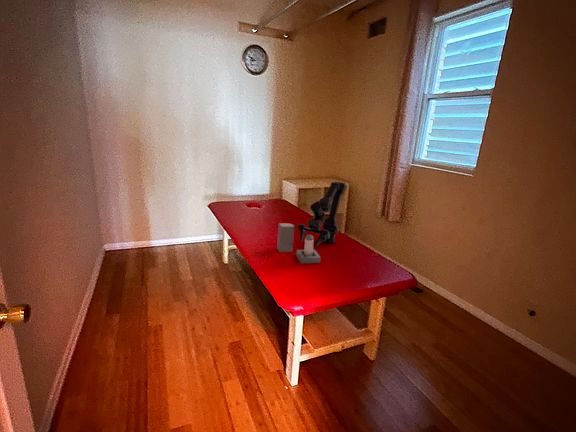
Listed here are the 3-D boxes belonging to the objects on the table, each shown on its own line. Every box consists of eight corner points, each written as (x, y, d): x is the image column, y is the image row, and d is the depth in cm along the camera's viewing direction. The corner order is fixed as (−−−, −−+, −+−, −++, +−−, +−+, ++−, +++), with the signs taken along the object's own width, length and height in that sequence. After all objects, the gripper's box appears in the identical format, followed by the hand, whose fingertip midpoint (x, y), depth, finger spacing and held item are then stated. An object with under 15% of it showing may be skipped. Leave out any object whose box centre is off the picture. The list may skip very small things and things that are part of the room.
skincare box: (279, 252, 183) (280, 227, 179) (276, 247, 190) (277, 222, 185) (293, 251, 186) (295, 226, 181) (290, 247, 192) (291, 222, 188)
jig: (296, 255, 182) (296, 249, 181) (314, 254, 184) (314, 249, 183) (300, 263, 171) (301, 258, 170) (320, 262, 174) (320, 257, 173)
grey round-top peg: (304, 254, 180) (306, 232, 176) (312, 255, 179) (314, 233, 175) (303, 257, 176) (304, 235, 171) (311, 259, 175) (313, 236, 170)
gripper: (299, 210, 177) (288, 233, 171) (330, 216, 169) (320, 241, 163) (304, 219, 186) (294, 242, 180) (334, 226, 178) (324, 250, 172)
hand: (308, 244), depth 174 cm, fingers open, 9 cm apart
